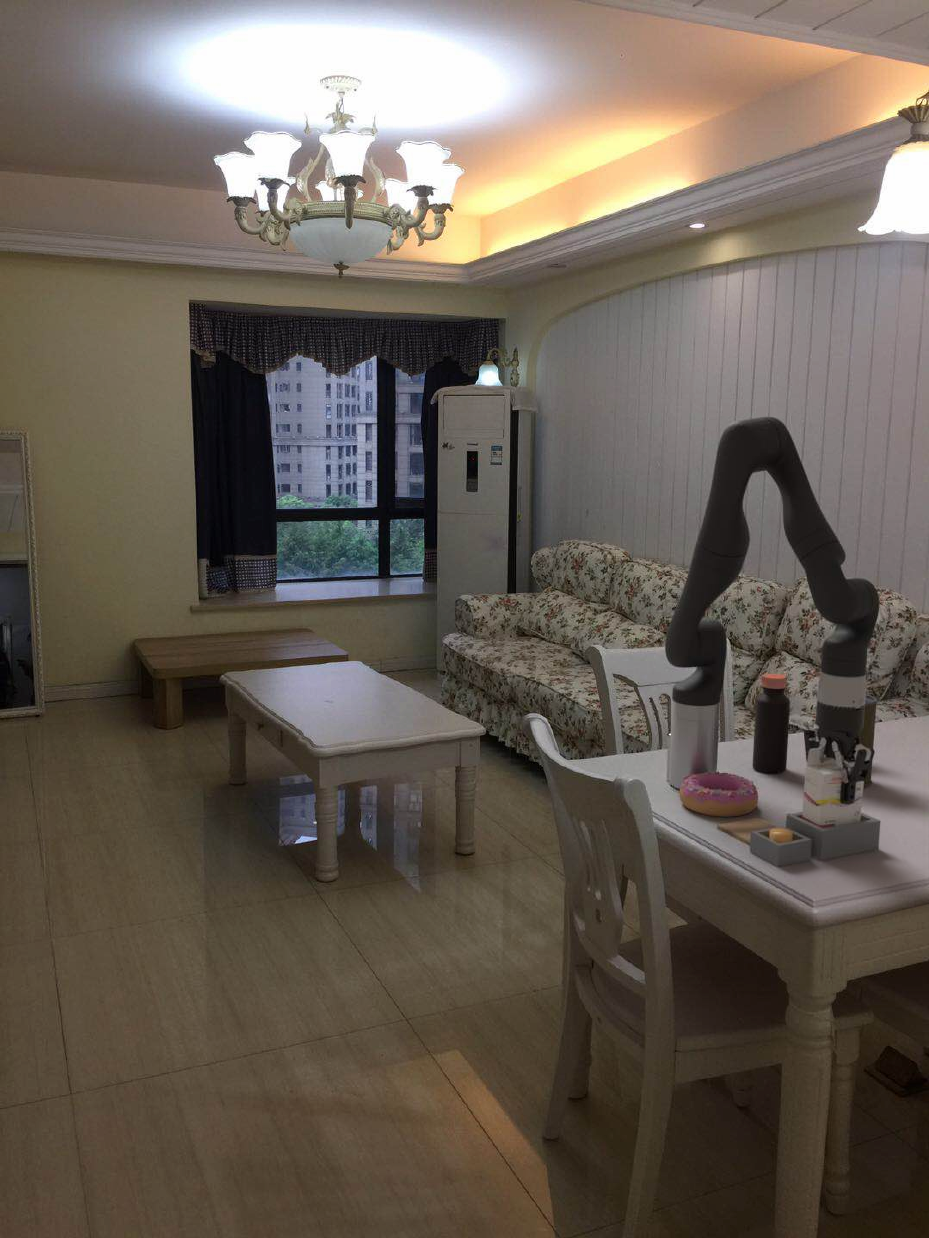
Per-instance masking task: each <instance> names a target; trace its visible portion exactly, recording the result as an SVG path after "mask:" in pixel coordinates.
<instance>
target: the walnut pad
mask: <svg viewBox="0 0 929 1238" xmlns="http://www.w3.org/2000/svg"><path fill="white" fill-rule="evenodd" d="M774 827H777V826H776V825H774V824H772V823H770V822H767V821H765V820H764V819H761V818H760V817H754V818H748V819H742V820H737V821H736V820H735V821H731V822H730V821H729V822H727V823H721V824H720V823H719V824H717V825H716V829H718V830H720V831H722V832H724V833H726V834H728V835H729V836H732V837H734V838H735V839H736V840H739V841H740V842H743V843H745V844H747V845H748V846H750V837H751V832H752V831H757V830H763V829H768V828H774Z"/></svg>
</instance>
